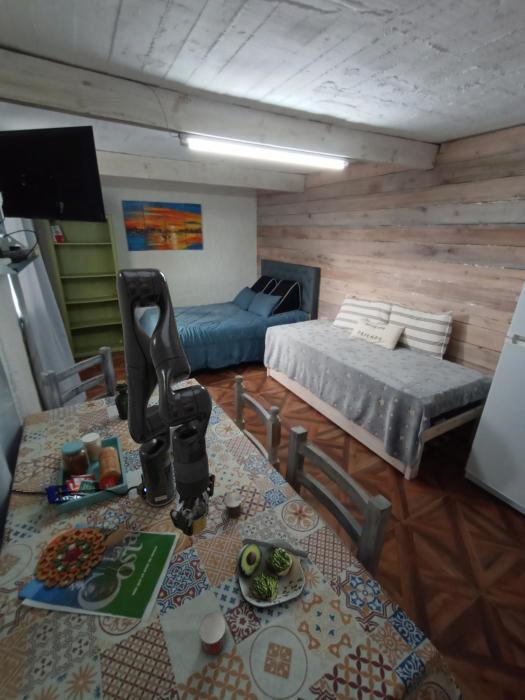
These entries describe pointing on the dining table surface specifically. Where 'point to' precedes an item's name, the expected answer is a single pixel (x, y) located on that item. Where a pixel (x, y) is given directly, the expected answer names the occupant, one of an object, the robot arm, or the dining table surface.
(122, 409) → the potion bottle
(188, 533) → the robot arm
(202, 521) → the gold pod
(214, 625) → the burgundy pod
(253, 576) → the salad plate
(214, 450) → the dining table surface
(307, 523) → the dining table surface
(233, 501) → the base pod
